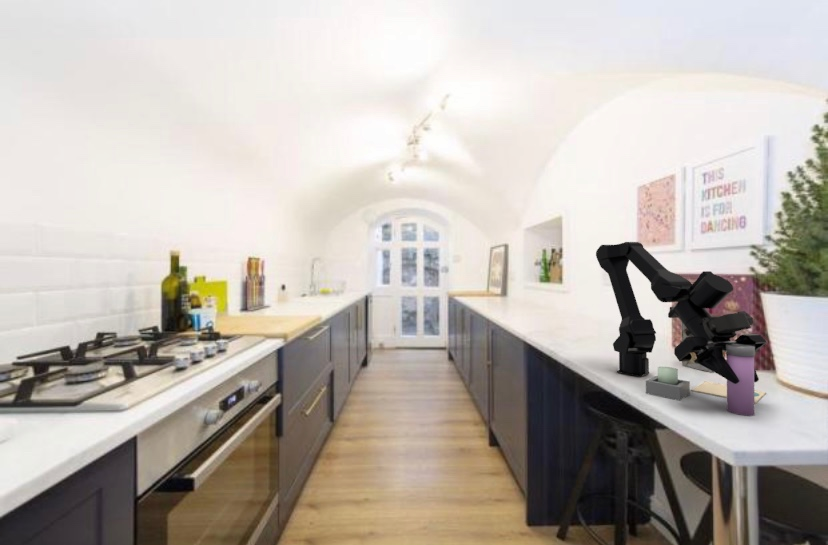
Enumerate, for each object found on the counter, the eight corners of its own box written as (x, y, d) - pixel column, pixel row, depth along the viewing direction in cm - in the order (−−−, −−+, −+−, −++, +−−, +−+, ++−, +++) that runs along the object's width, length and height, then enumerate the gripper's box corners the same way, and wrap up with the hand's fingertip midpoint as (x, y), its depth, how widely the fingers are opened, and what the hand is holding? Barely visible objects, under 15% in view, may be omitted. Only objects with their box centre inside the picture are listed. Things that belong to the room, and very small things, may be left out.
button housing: (645, 393, 94) (645, 380, 94) (657, 387, 98) (657, 375, 98) (679, 400, 88) (679, 387, 88) (689, 394, 93) (689, 381, 93)
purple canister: (723, 411, 81) (723, 345, 81) (729, 406, 84) (729, 342, 84) (752, 417, 78) (751, 348, 78) (757, 412, 81) (757, 345, 81)
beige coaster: (691, 391, 95) (691, 389, 95) (705, 382, 102) (705, 381, 102) (755, 403, 86) (755, 402, 86) (766, 393, 92) (766, 392, 92)
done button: (655, 385, 93) (655, 368, 93) (661, 381, 96) (661, 365, 96) (674, 388, 90) (674, 371, 90) (680, 385, 93) (680, 368, 93)
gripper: (684, 299, 83) (736, 363, 72) (757, 297, 86) (816, 358, 76) (656, 330, 91) (698, 392, 80) (723, 328, 94) (773, 386, 83)
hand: (747, 382), depth 80 cm, fingers closed on purple canister, 4 cm apart
